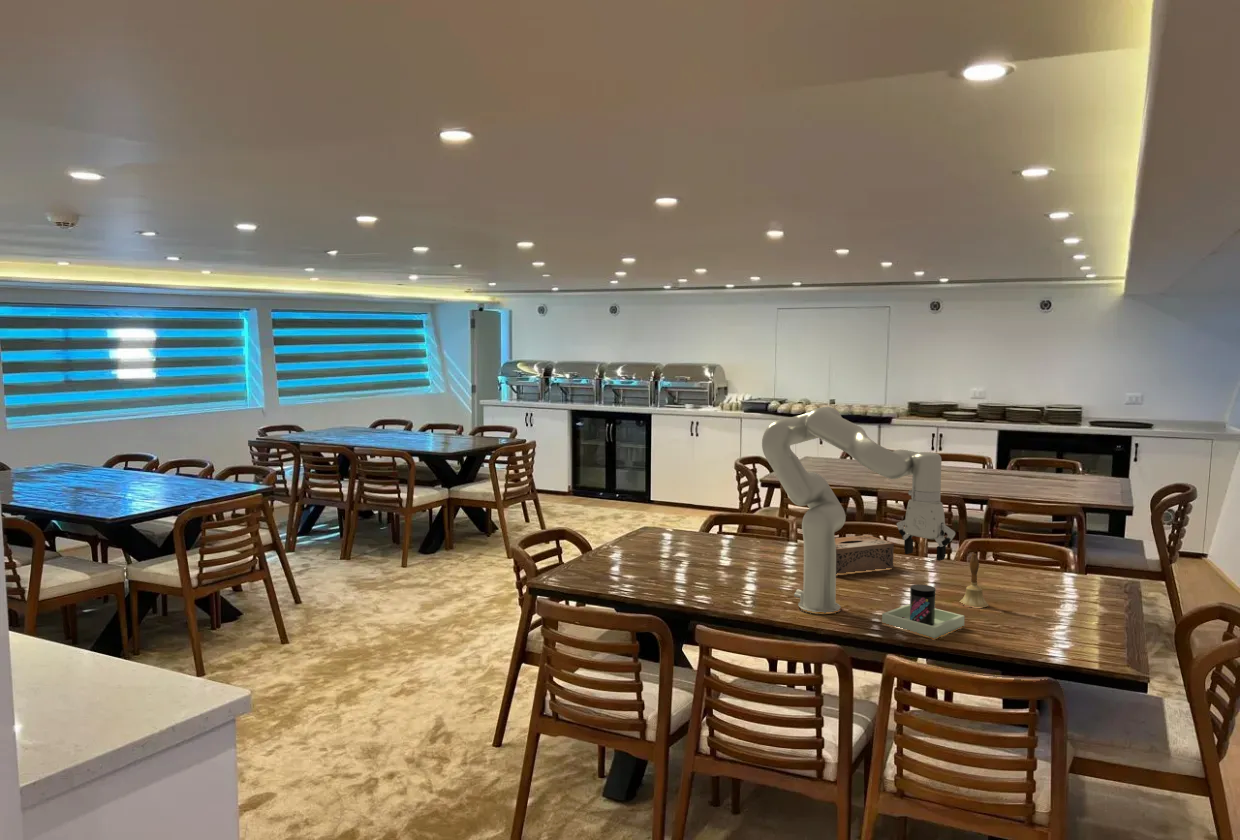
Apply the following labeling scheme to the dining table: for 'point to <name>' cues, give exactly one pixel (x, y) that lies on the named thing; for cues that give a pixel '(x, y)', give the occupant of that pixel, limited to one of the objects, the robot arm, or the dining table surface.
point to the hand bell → (974, 587)
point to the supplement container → (922, 604)
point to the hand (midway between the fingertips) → (924, 556)
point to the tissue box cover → (863, 554)
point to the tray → (941, 626)
